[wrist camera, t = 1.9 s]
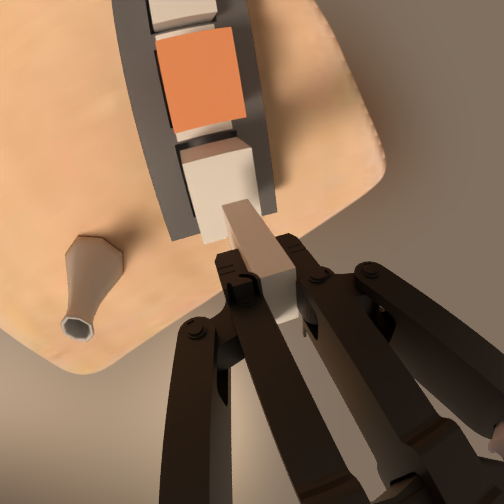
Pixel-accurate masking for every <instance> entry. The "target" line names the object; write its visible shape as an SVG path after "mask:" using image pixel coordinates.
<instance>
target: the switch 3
mask: <svg viewBox="0 0 504 504" xmlns="http://www.w3.org/2000/svg"><path fill="white" fill-rule="evenodd" d="M180 155H181V161H182V166H183V170H184V173H185V177H186V181H187V185H188V189H189V192H190V196H191V200H192V204H193V207H194V211H195V214H196V218H197V222H198V225H199V229H200V232H201V236H202V239H203V243H204V245H205V244H208V243H212V242H215V241H219V240H222V239H226V238H229V237H228V233H227V229H226V224H225V220H224V215H223V211H222V207H221V205H225V204H229V203H232V202H236V201H240V200H244V199H248V200H249V201H250V202H251V204H252V205H253V207H254V208H255V210H256V211H257V212H258V214H259V215H260V217H261V218H262V214H261V207H260V200H259V194H258V187H257V180H256V174H255V167H254V161H253V154H252V148H251V147H250V146H249V145H247V144H246V143H245V142H243V141H242V140H241V139H239V138H238V137H234V138H229V139H225V140H220V141H216V142H212V143H208V144H204V145H200V146H196V147H192V148H188V149H185V150H181V151H180Z"/></svg>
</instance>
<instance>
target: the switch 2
mask: <svg viewBox="0 0 504 504" xmlns="http://www.w3.org/2000/svg"><path fill="white" fill-rule="evenodd" d="M155 44H156V49H157V55H158V60H159V65H160V70H161V75H162V79H163V84H164V89H165V94H166V98H167V103H168V107H169V112H170V116H171V120H172V125H173V129H174V133H175V134H176V133H179V132H183V131H187V130H191V129H194V128H199V127H203V126H207V125H211V124H216V123H220V122H225V121H230V120H235V119H240V118H245V117H246V110H245V104H244V98H243V92H242V86H241V80H240V74H239V68H238V63H237V57H236V51H235V45H234V40H233V34H232V28H231V27H225V28H217V29H211V30H204V31H198V32H193V33H188V34H183V35H178V36H174V37H169V38H165V39H161V40H157V41H155Z"/></svg>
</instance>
